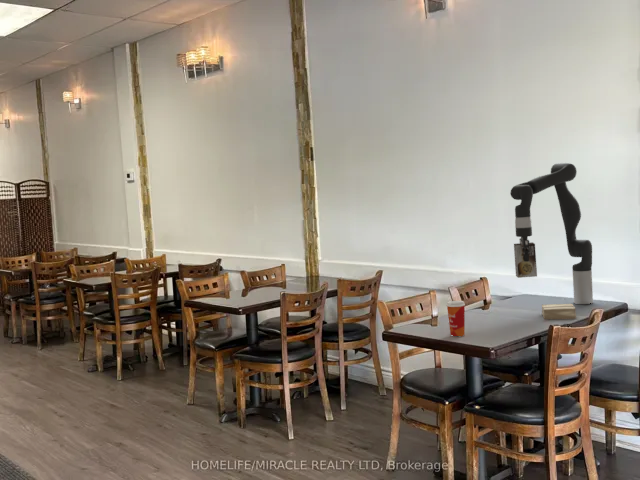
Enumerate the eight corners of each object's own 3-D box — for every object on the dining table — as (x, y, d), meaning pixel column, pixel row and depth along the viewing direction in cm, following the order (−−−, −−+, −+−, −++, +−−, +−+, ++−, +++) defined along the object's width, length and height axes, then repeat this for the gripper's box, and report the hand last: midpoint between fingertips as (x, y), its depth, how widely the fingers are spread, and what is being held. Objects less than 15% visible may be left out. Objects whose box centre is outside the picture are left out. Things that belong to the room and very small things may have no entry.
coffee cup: (445, 334, 298) (443, 301, 297) (463, 332, 298) (461, 299, 297) (451, 338, 289) (449, 304, 288) (469, 336, 290) (467, 302, 289)
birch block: (542, 314, 327) (541, 304, 326) (572, 313, 323) (571, 303, 323) (544, 320, 314) (544, 309, 314) (576, 319, 311) (575, 308, 310)
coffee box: (534, 274, 324) (532, 242, 323) (537, 276, 318) (535, 243, 317) (515, 276, 325) (513, 243, 324) (517, 277, 319) (516, 244, 318)
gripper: (534, 226, 312) (535, 261, 313) (529, 225, 326) (531, 258, 327) (517, 228, 313) (519, 262, 314) (513, 226, 327) (515, 259, 329)
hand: (525, 260), depth 321 cm, fingers closed on coffee box, 6 cm apart
